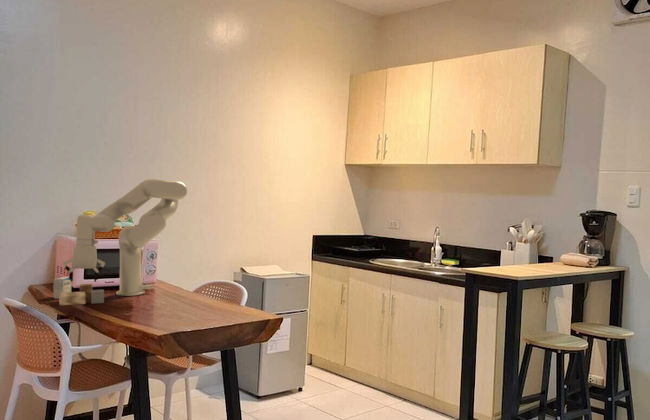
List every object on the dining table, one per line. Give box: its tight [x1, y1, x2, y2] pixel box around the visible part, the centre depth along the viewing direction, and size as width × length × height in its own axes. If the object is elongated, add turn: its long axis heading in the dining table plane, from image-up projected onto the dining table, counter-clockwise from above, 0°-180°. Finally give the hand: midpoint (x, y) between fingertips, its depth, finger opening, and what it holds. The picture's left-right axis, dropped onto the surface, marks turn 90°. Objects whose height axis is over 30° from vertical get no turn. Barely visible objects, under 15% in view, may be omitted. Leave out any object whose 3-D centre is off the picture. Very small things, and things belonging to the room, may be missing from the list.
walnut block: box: [79, 283, 93, 300], centre depth 259 cm, size 5×5×6 cm
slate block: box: [90, 289, 105, 304], centre depth 249 cm, size 5×5×5 cm
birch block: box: [58, 291, 86, 306], centre depth 248 cm, size 10×10×4 cm
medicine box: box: [53, 276, 72, 299], centre depth 260 cm, size 8×4×9 cm, turn 179°
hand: (83, 281), depth 258 cm, fingers open, 9 cm apart
